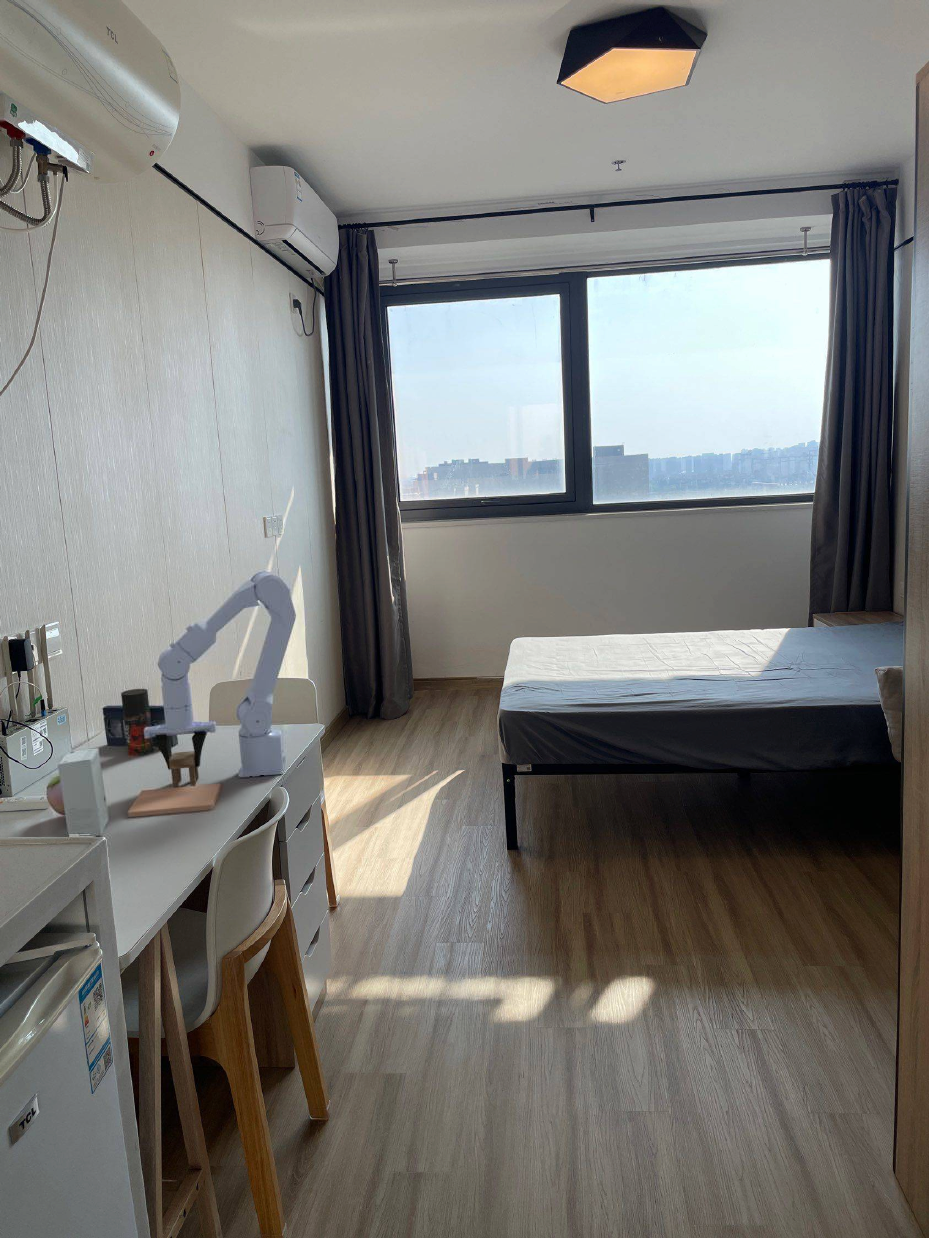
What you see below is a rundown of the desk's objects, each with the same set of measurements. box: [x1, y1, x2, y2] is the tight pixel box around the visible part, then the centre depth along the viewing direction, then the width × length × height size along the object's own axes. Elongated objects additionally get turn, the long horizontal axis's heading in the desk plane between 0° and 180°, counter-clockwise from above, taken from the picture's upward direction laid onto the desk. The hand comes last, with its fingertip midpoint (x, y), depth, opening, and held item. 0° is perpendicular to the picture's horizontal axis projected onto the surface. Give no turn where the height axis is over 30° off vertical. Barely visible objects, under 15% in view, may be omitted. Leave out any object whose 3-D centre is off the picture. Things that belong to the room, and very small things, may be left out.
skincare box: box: [57, 748, 110, 837], centre depth 162 cm, size 8×6×15 cm
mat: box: [127, 783, 222, 818], centre depth 176 cm, size 16×12×1 cm
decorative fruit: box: [45, 775, 66, 817], centre depth 170 cm, size 9×8×10 cm
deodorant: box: [120, 688, 155, 757], centre depth 209 cm, size 6×6×15 cm
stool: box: [169, 750, 200, 788], centre depth 186 cm, size 5×5×6 cm
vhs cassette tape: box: [102, 705, 179, 748], centre depth 215 cm, size 18×3×10 cm, turn 77°
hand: (184, 766), depth 186 cm, fingers closed on stool, 5 cm apart
